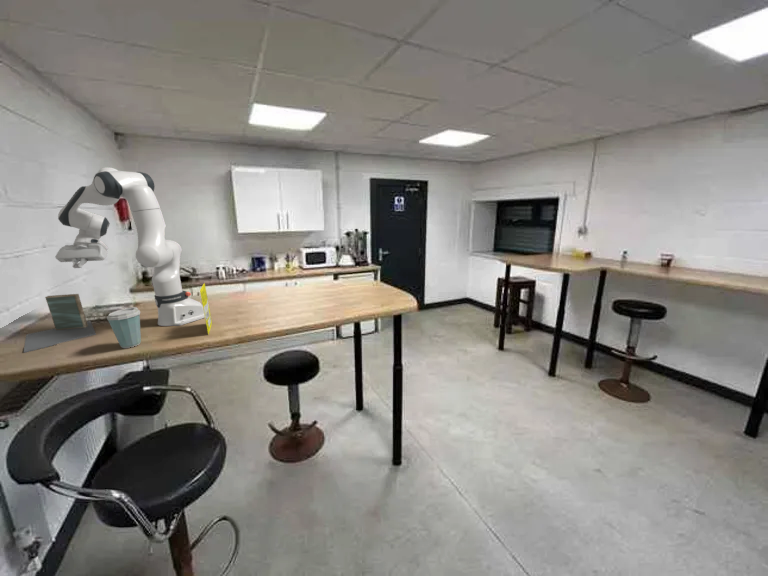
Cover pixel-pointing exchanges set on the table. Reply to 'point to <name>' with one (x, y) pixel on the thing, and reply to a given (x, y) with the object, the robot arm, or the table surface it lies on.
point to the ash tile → (66, 311)
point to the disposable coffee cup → (126, 326)
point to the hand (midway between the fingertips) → (76, 267)
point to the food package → (206, 307)
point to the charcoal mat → (56, 337)
